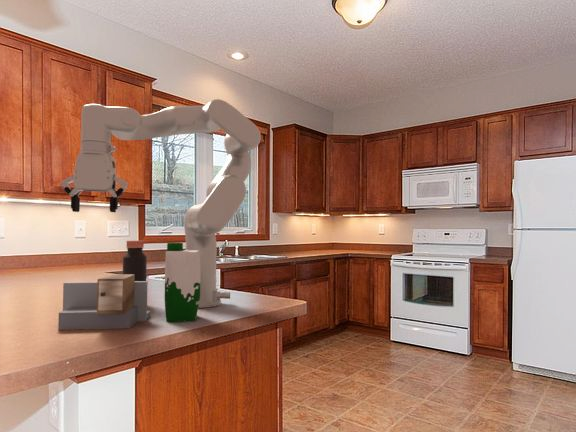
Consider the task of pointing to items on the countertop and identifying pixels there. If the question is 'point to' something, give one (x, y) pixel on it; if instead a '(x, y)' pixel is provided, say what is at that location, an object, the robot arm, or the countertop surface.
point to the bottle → (135, 260)
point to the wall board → (84, 308)
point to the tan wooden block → (115, 293)
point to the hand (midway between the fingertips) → (94, 211)
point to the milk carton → (181, 283)
